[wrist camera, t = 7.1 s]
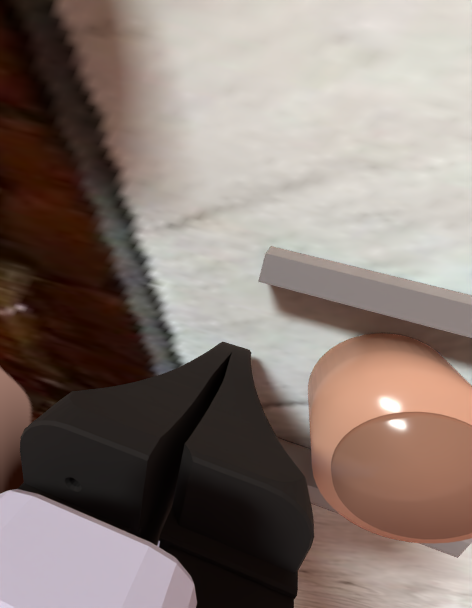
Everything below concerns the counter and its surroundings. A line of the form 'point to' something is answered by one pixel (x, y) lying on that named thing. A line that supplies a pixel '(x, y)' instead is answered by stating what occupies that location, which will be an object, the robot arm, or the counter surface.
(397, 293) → the holder
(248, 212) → the counter surface
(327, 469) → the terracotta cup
